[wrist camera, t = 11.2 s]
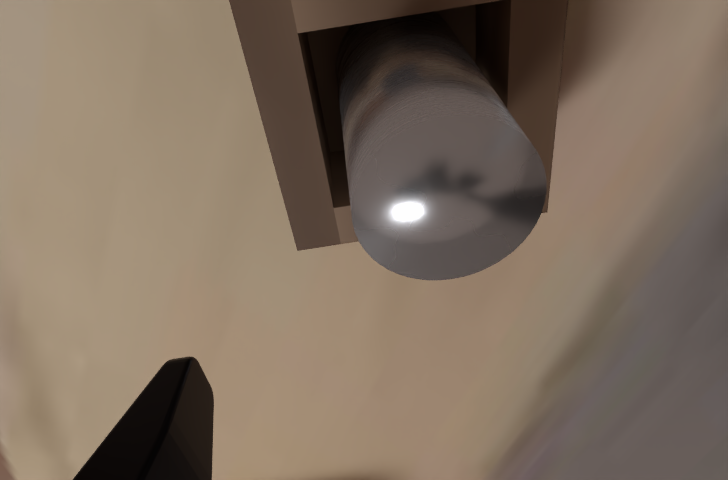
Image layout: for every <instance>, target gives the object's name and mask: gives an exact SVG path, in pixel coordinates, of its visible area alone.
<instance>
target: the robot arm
mask: <svg viewBox="0 0 728 480" xmlns="http://www.w3.org/2000/svg"><path fill="white" fill-rule="evenodd" d="M213 412H214V398H213V392H212V388H211V386H210V384H209V382H208V380H207V378H206V376H205V374H204V372H203V370H202V368H201V366H200V364H199V362H198V361H197V359H195V358H194V357H184V358H177V359H172V360H169V361H167V362H166V363H165V364H164V365H163V366H162V367H161V368H160V370H159V371H158V372H157V374H156V375H155V376H154V377H153V379H152V380H151V381H150V382H149V384H148V385H147V386H146V387H145V389H144V390H143V391H142V392H141V394H140V395H139V396H138V398H137V399H136V400H135V401H134V403H133V404H132V405H131V406H130V408H129V409H128V410H127V411H126V413H125V414H124V415H123V417H122V418H121V419H120V420H119V422H118V423H117V424H116V425H115V427H114V428H113V429H112V430H111V432H110V433H109V434H108V436H107V437H106V438H105V439H104V441H103V442H102V443H101V444H100V446H99V447H98V448H97V449H96V451H95V452H94V453H93V455H92V456H91V457H90V458H89V460H88V461H87V462H86V463H85V465H84V466H83V467H82V468H81V470H80V471H79V472H78V474H77V475H76V476H75V477H74V479H73V480H212V448H213Z"/></svg>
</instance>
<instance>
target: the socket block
mask: <svg viewBox="0 0 728 480" xmlns="http://www.w3.org/2000/svg"><path fill="white" fill-rule="evenodd" d="M229 2H230V5H231V9H232V12H233V16H234V20H235V23H236V27H237V31H238V34H239V38H240V42H241V45H242V49H243V53H244V56H245V60H246V64H247V67H248V71H249V75H250V78H251V82H252V86H253V89H254V93H255V97H256V100H257V104H258V108H259V111H260V115H261V119H262V122H263V126H264V130H265V133H266V137H267V141H268V144H269V148H270V152H271V155H272V159H273V163H274V166H275V170H276V174H277V177H278V181H279V185H280V188H281V192H282V196H283V199H284V203H285V207H286V210H287V214H288V218H289V221H290V225H291V229H292V232H293V236H294V240H295V243H296V247H297V251H299V250H305V249H312V248H318V247H325V246H331V245H338V244H344V243H351V242H357V241H359V240H358V238H357V236H356V234H355V231H354V227H353V223H352V215H351V206H350V197H349V188H348V178H347V169H346V160H345V150H344V141H343V132H342V123H341V113H340V104H339V95H338V85H337V76H336V59H337V53H338V50H339V46H340V44H341V41H342V39H343V37H344V35H345V34H346V32H347V31H348V29H349V28H350V27H351V25H352V24H359V23H365V22H371V21H377V20H383V19H389V18H396V17H402V16H408V15H414V14H420V13H426V12H432V11H435V12H436V13H437V14H439V15H440V16H441V17H442V18H443V19H444V20H445V21H446V22H447V24H448V25H449V26H450V28H451V29H452V31H453V32H454V33H455V35H456V36H457V38H458V39H459V41H460V42H461V43H462V45H463V46H464V48H465V49H466V51H467V52H468V53H469V55H470V56H471V58H472V59H473V61H474V62H475V63H476V65H477V66H478V68H479V69H480V71H481V72H482V73H483V75H484V76H485V78H486V79H487V81H488V82H489V83H490V85H491V86H492V88H493V89H494V90H495V92H496V93H497V95H498V96H499V98H500V99H501V100H502V102H503V103H504V105H505V106H506V108H507V109H508V110H509V112H510V113H511V115H512V116H513V118H514V119H515V120H516V122H517V123H518V125H519V126H520V128H521V129H522V130H523V132H524V133H525V135H526V136H527V138H528V139H529V140H530V142H531V143H532V145H533V146H534V148H535V149H536V150H537V152H538V154H539V156H540V158H541V160H542V163H543V166H544V169H545V173H546V180H547V192H546V198H545V203H544V206H543V209H542V212H541V213H545V212H547V210H548V199H549V189H550V179H551V169H552V159H553V149H554V139H555V129H556V118H557V108H558V98H559V88H560V78H561V68H562V58H563V47H564V37H565V27H566V17H567V7H568V0H229Z"/></svg>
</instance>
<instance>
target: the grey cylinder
mask: <svg viewBox="0 0 728 480" xmlns="http://www.w3.org/2000/svg"><path fill="white" fill-rule="evenodd" d="M336 76H337V85H338V95H339V104H340V113H341V123H342V132H343V141H344V150H345V160H346V169H347V178H348V188H349V197H350V206H351V215H352V223H353V227H354V231H355V234H356V236H357V238H358V240H359V242H360V244H361V245H362V247H363V248H364V250H365V251H366V252H367V253H368V254H369V255H370V256H371V257H372V258H373V259H374V260H375V261H376V262H378V263H379V264H380V265H382V266H383V267H385V268H387V269H388V270H390V271H393V272H395V273H397V274H400V275H403V276H406V277H410V278H415V279H422V280H446V279H454V278H459V277H464V276H467V275H470V274H474V273H476V272H479V271H481V270H484V269H486V268H488V267H490V266H492V265H494V264H496V263H497V262H499V261H500V260H502V259H503V258H505V257H506V256H508V255H509V254H510V253H511V252H513V251H514V250H515V249H516V248H517V247H518V246H519V245H520V244H521V243H522V242H523V241H524V240H525V239H526V237H527V236H528V235H529V234H530V232H531V231H532V229H533V228H534V226H535V225H536V223H537V221H538V219H539V217H540V215H541V212H542V209H543V206H544V203H545V198H546V192H547V180H546V173H545V169H544V166H543V163H542V160H541V158H540V156H539V154H538V152H537V150H536V149H535V148H534V146H533V145H532V143H531V142H530V140H529V139H528V138H527V136H526V135H525V133H524V132H523V130H522V129H521V128H520V126H519V125H518V123H517V122H516V120H515V119H514V118H513V116H512V115H511V113H510V112H509V110H508V109H507V108H506V106H505V105H504V103H503V102H502V100H501V99H500V98H499V96H498V95H497V93H496V92H495V90H494V89H493V88H492V86H491V85H490V83H489V82H488V81H487V79H486V78H485V76H484V75H483V73H482V72H481V71H480V69H479V68H478V66H477V65H476V63H475V62H474V61H473V59H472V58H471V56H470V55H469V53H468V52H467V51H466V49H465V48H464V46H463V45H462V43H461V42H460V41H459V39H458V38H457V36H456V35H455V33H454V32H453V31H452V29H451V28H450V26H449V25H448V24H447V22H446V21H445V20H444V19H443V18H442V17H441V16H440V15H439V14H437V13H436V12H435V11H432V12H426V13H420V14H414V15H408V16H402V17H396V18H389V19H383V20H377V21H371V22H365V23H359V24H352V25H351V27H350V28H349V29H348V31H347V32H346V34H345V35H344V37H343V39H342V41H341V44H340V46H339V50H338V53H337V59H336Z"/></svg>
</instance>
